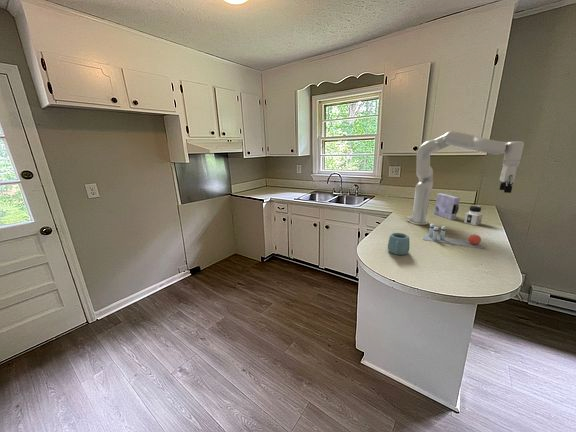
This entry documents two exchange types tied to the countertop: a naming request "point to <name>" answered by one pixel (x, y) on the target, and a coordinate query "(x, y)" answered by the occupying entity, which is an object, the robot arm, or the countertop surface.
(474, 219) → the container
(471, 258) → the countertop surface
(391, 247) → the mug
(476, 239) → the ball
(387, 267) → the countertop surface
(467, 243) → the lane
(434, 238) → the pin
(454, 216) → the cake pan box
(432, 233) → the pin
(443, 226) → the front pin
